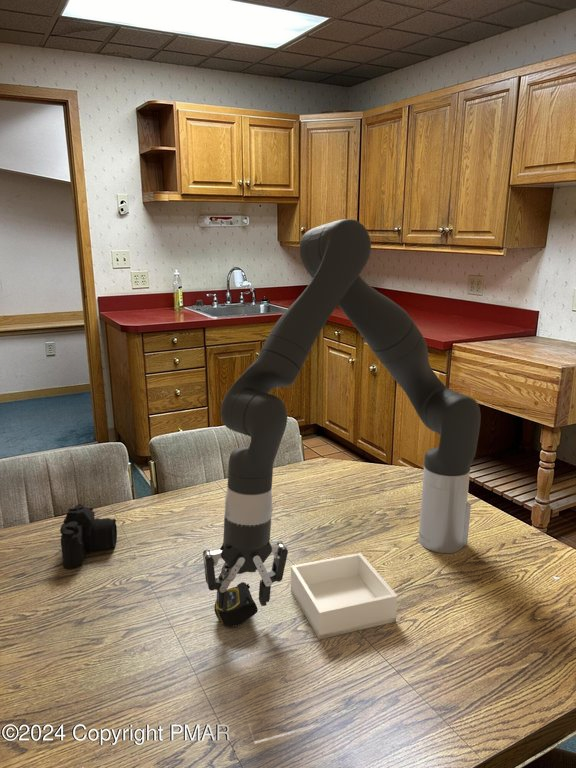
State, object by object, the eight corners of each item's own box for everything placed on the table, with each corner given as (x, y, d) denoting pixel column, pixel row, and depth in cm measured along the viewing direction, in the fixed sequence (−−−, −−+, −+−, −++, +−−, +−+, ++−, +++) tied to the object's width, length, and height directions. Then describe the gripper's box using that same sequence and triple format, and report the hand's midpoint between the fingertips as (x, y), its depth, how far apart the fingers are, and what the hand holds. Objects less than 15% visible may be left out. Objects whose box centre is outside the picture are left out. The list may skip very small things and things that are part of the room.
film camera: (110, 568, 111) (106, 527, 109) (58, 572, 110) (53, 530, 108) (120, 530, 126) (117, 493, 123) (75, 533, 124) (71, 495, 122)
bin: (359, 576, 109) (360, 552, 108) (395, 621, 96) (397, 595, 95) (290, 589, 105) (290, 565, 103) (319, 639, 92) (319, 612, 91)
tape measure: (262, 617, 94) (253, 600, 93) (224, 637, 93) (215, 621, 92) (253, 593, 100) (245, 577, 99) (218, 612, 99) (209, 596, 98)
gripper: (283, 499, 97) (277, 588, 100) (199, 506, 92) (195, 599, 95) (298, 519, 90) (291, 613, 93) (208, 527, 85) (204, 626, 89)
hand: (242, 605), depth 94 cm, fingers closed on tape measure, 6 cm apart
